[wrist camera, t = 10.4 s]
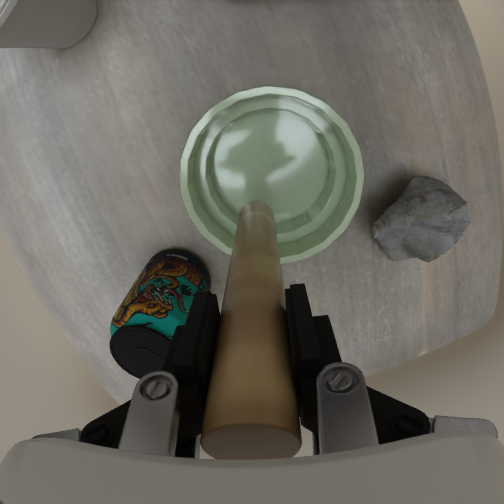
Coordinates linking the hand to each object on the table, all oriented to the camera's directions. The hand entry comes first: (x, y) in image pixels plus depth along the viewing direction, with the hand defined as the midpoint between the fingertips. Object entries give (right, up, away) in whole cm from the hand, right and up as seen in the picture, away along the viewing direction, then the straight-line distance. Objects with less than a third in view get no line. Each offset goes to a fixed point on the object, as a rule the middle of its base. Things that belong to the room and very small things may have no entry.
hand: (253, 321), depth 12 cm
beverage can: (-8, 0, +20) cm, 21 cm away
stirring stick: (0, +5, +11) cm, 12 cm away
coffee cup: (-18, +26, +8) cm, 33 cm away
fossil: (+15, +7, +16) cm, 23 cm away
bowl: (+2, +10, +15) cm, 18 cm away
